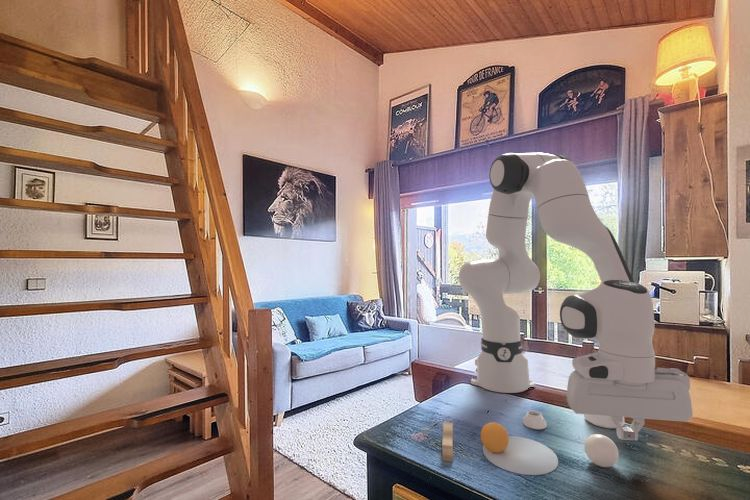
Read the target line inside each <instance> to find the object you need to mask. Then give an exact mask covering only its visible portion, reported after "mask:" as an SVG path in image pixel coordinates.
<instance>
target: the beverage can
mask: <svg viewBox="0 0 750 500" xmlns="http://www.w3.org/2000/svg"><path fill="white" fill-rule="evenodd" d="M583 417H584V420H586V421H587V422H589V423H591V424H592V425H594V426H597V427H600V428H604V429H616V426H615V424H614V423H613V421H612V419H611V418H610V416H603V415H589V414H583ZM619 423H620V424H621V426H622V427H625V417H622V422H619Z"/></svg>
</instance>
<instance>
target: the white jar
mask: <svg viewBox="0 0 750 500" xmlns="http://www.w3.org/2000/svg"><path fill="white" fill-rule="evenodd" d="M522 423H523V425H524V427H525V426H526V427H527V428H528V429H529V428H530V429H532V430H544V429H546V428H547V425H548V424H547V422H546V420H545V418H544V417H543V414H542V413H541V412H540V411H537V410H528V411H527V413H526V414H525V416H524V418H523V420H522Z"/></svg>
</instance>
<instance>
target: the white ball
mask: <svg viewBox="0 0 750 500" xmlns="http://www.w3.org/2000/svg"><path fill="white" fill-rule="evenodd" d="M584 452H585V455H586V456H587V458H588V459H589V460H590V461H591V463H593V464H594V465H596V466H598V467H602V468H610V467H613V466H614V465H616V463H617V462H618V460H619V453H620V452H619V449H618V447H617V445H616V444H615V441H613V440H612V439H611V438H609V436H606V435H604V434H601V433H594V434H590V435H589V436H588V437H587V438H586V439H585V441H584Z"/></svg>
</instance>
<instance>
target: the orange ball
mask: <svg viewBox="0 0 750 500" xmlns="http://www.w3.org/2000/svg"><path fill="white" fill-rule="evenodd" d="M508 436H509V433H508V431H507V430H506V428H505V427H504V426H503V425H501V424H500V423H498V422H488V423H486V424H485V425H483V427H482V428H481V430H480V441H481V443H482V446H483V445H484V446H485V448H487V449H488V450H489V451H491V452H495V453H499V452H502V451H504V450H505V449H506V448H507V446H508V443H509V437H508Z"/></svg>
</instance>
